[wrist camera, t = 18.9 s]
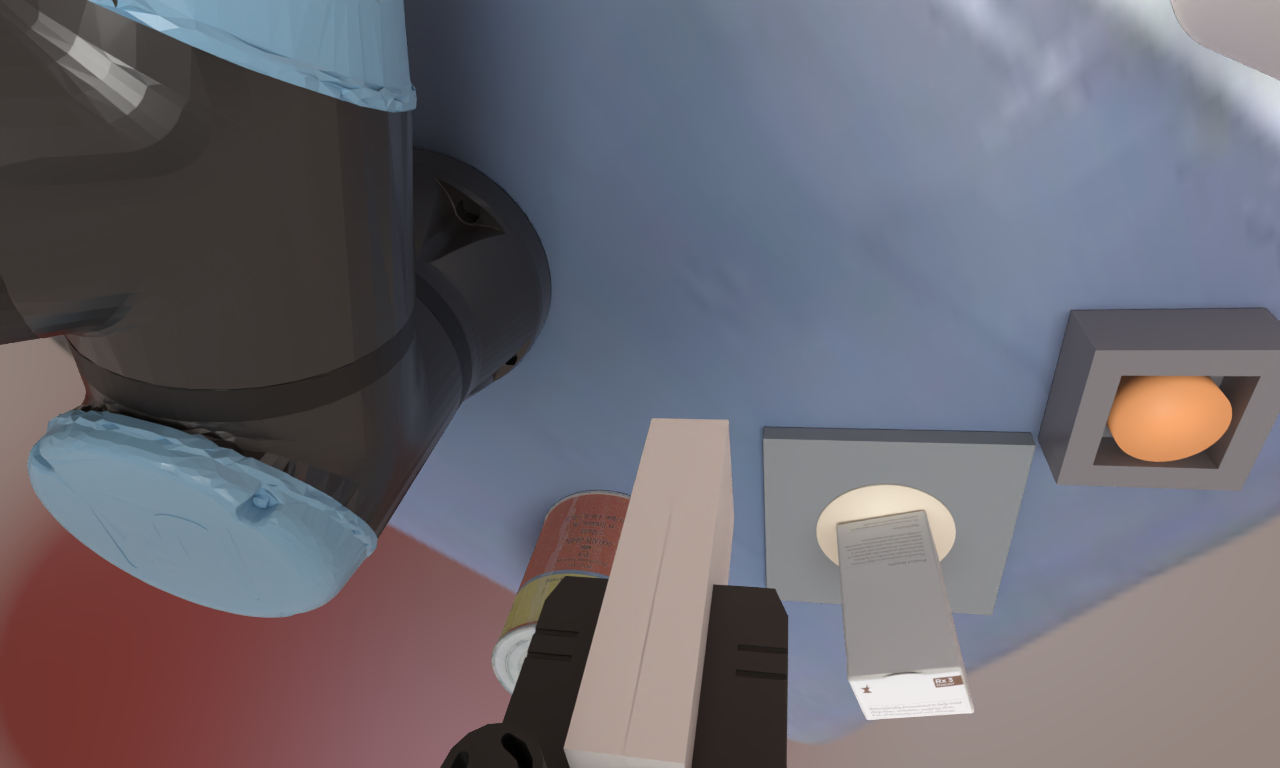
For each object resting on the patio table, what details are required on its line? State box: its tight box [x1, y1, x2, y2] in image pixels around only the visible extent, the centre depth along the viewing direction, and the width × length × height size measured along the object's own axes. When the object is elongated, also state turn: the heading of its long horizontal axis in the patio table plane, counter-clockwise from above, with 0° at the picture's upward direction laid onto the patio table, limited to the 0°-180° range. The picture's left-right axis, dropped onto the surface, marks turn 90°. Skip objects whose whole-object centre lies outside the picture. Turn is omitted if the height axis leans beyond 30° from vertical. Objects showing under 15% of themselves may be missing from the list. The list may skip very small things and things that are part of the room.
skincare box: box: [836, 511, 974, 720], centre depth 44 cm, size 6×4×12 cm
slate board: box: [763, 427, 1036, 615], centre depth 49 cm, size 16×16×1 cm
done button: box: [1106, 376, 1232, 462], centre depth 38 cm, size 5×5×2 cm
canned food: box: [492, 490, 631, 695], centre depth 51 cm, size 11×11×12 cm
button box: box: [1038, 308, 1280, 491], centre depth 38 cm, size 9×9×4 cm
